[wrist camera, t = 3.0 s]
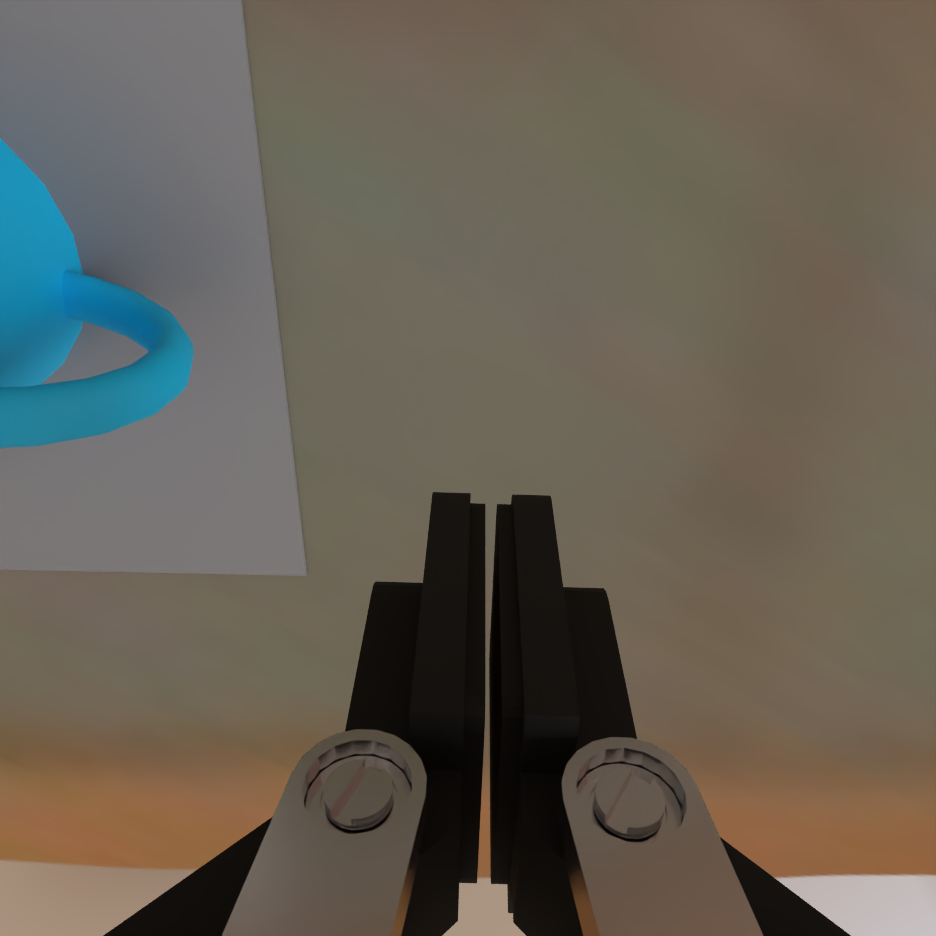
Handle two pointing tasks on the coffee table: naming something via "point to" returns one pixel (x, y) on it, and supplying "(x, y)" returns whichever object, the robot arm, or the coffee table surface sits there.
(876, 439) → the coffee table surface
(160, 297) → the mat
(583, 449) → the coffee table surface
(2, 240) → the mug
